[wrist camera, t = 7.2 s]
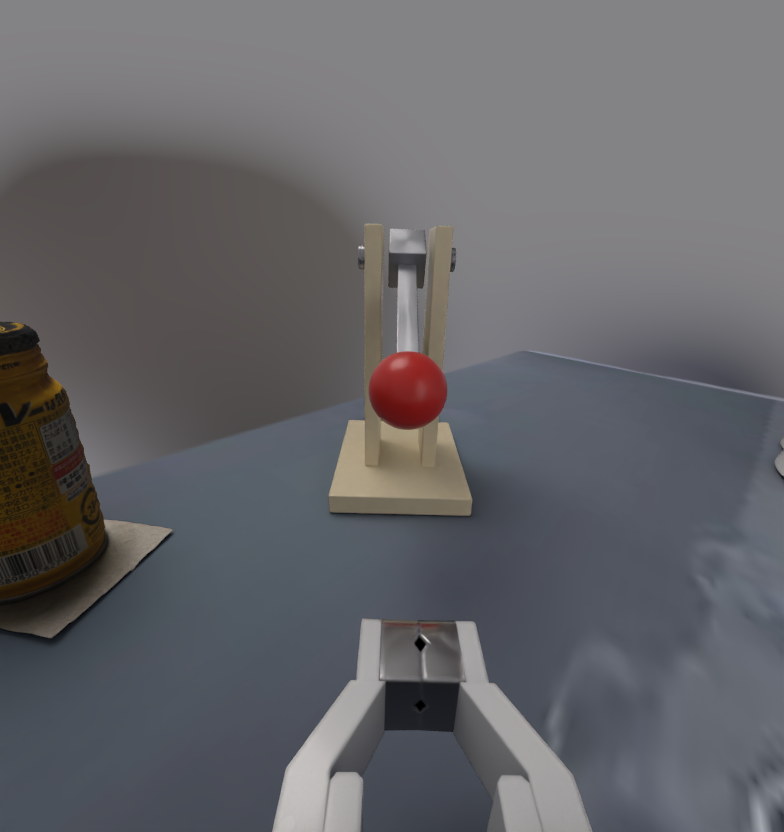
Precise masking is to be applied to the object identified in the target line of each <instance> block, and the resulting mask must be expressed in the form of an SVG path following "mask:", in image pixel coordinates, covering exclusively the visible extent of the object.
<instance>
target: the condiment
mask: <svg viewBox="0 0 784 832" xmlns="http://www.w3.org/2000/svg"><path fill="white" fill-rule="evenodd" d="M39 341H40V340H39V338H38V335H37V333H36V331H34V330H33V329H31V328H30V327H29V326H26V325H25V324H20V323H13V322H0V628H2V629H5V630H9V631H14V632H23V633H32V634H35V635H38V636H43V637H48V638H52V637H53V636H55V635H56V634H57V633H58V632H60V631H61V630H62V629H63V628H64V627H65V626H66V625H67V624H68V623H70V622H72V621H74V620H75V619H76V618H77V617H78V616H79V615H80V614H81V613H83V612H84V611H85V610H86V609H88V608H89V607H90V606H91V605H92V604H93V603H94V602H95V601H96V600H97V599H98V598H99V597H100V596H102V595H103V594H105V593H106V592H107V591H108V590H109V589H110V588H112V587H113V586H114V585H115V584H116V583H117V582H118V581H119V580H120V579H121V578H122V577H123V576H124V575H125V574H126V573H128V572H129V571H130V570H132V571H133V570H134V568H135V566H136V565H137V564H138V563H139V561H140V560H141V559H142V558H143V557H144V556H145V555H146V554H147V553H149V552H150V551H151V550H153V549H154V548H155V547H156V546H157V545H158V544H159V543H160V541H161V540H163V539H164V538H165V537H166V536H167V535H168V534H169V533H170V532H171V531H172V530H173V529H167V528H163V527H156V526H148V525H145V524H135V523H130V522H126V521H125V522H122V521H114V520H104V519H103V514H102V512H101V510H100V503H99V500H98V498H97V493H96V491H95V487H94V485H93V484H92V479H91V473H90V465H89V464H87V461H86V458H85V455H84V448H83V445H82V444H81V441H80V439H79V433H78V430H77V428H76V422H75V419H74V417H73V415H72V413H71V409H70V407H69V405H70V403H69V398H68V396H67V394H66V391H65V390H64V389H63V387H62V386H61V384H60V383H58V382H57V381H55V380H54V379H53V378H52V377H50V376H49V375H48V373H47V368H48V363H47V361H46V359H45V358H44V356H43V355H42V354H41V348H40V347H39V345H38V344H37V343H38V342H39Z"/></svg>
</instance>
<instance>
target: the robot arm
mask: <svg viewBox="0 0 784 832" xmlns="http://www.w3.org/2000/svg"><path fill="white" fill-rule="evenodd" d="M780 444H781V446H782V448H783V449H784V437H783V438H782V440H781V441H780ZM775 466H776V468H777V470H778V471H779V473H780V474H781V475H782V476H783V477H784V450H783V451H782V452H781V453H780V454H779V455H778V456H777V458H776V459H775ZM384 730H426V731H445V732H453V735H454V736H455V738H456V740H457V741H458V743H459V745H460V747H461V748H462V750H463V752H464V753H465V755H466V757H467V758H468V760H469V762H470V763H471V765H472V767H473V769H474V770H475V772H476V774H477V775H478V777H479V779H480V780H481V782H482V784H483V785H484V787H485V789H486V791H487V792H488V794H489V796H490V797H491V799H492V801H493V805H492V809H491V813H490V818H489V822H488V827H487V831H486V832H592V829H591V826H590V823H589V820H588V817H587V814H586V811H585V808H584V805H583V803H582V800H581V797H580V794H579V791H578V788H577V785H576V782H575V779H574V776H573V774H572V773H571V772H570V771H569V770H568V768H567V767H566V766H565V765H564V764H563V763H562V761H561V760H560V759H559V758H558V757H557V756H556V754H555V753H554V752H553V751H552V750H551V749H550V747H549V746H548V745H547V744H546V743H545V741H544V740H543V739H542V738H541V737H540V736H539V734H538V733H537V732H536V731H535V730H534V729H533V727H532V726H531V725H530V724H529V723H528V721H527V720H526V719H525V718H524V717H523V716H522V714H521V713H520V712H519V711H518V710H517V709H516V707H515V706H514V705H513V704H512V703H511V702H510V700H509V699H508V698H507V697H506V696H505V694H504V693H503V692H502V691H501V690H500V689H499V687H498V686H497V685H496V684H495V683H489V680H488V676H487V672H486V667H485V663H484V658H483V654H482V649H481V645H480V640H479V636H478V631H477V627H476V624H475V623H474V622H471V621H425V620H418V621H404V620H384V619H382V622H381V619H362V623H361V631H360V642H359V654H358V665H357V676H356V680H350V681H349V683H348V684H347V685H346V687H345V688H344V690H343V691H342V692H341V694H340V695H339V696H338V698H337V699H336V701H335V702H334V703H333V705H332V706H331V707H330V709H329V710H328V711H327V713H326V714H325V716H324V717H323V718H322V720H321V721H320V722H319V724H318V725H317V727H316V728H315V729H314V731H313V732H312V733H311V735H310V736H309V737H308V739H307V740H306V742H305V743H304V744H303V746H302V747H301V748H300V750H299V751H298V753H297V754H296V755H295V757H294V758H293V759H292V761H291V762H290V764H289V765H288V766H287V768H286V771H285V775H284V780H283V785H282V789H281V794H280V798H279V803H278V808H277V812H276V817H275V822H274V826H273V831H272V832H363V779H362V778H361V777H362V775H363V773H364V771H365V770H366V768H367V766H368V764H369V762H370V760H371V758H372V756H373V754H374V752H375V750H376V748H377V746H378V744H379V742H380V740H381V739H382V737H383V735H384Z"/></svg>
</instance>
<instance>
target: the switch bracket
mask: <svg viewBox="0 0 784 832" xmlns="http://www.w3.org/2000/svg"><path fill="white" fill-rule="evenodd" d="M452 238H453V227H452V226H436V227H434V228H432V229H431V230H430V231H429V248H428V267H427V284H426V302H425V320H424V337H423V354H424V355H426V356H428V357H429V358H431V359H432V360H433V361H434V362H435V363H436V364H437V365H438V366H439V367H440V368H441V370H442V369H443V356H444V342H445V329H446V316H447V302H448V290H449V277H450V272H453V271H454V269H455V262H456V249H455V248H452ZM383 262H384V228H383V226H382V225H381V224H365V246H364V245H360V246H359V248H358V266H359V269H365V421H358V420H349V422H348V426H347V430H346V433H345V437H344V441H343V444H342V448H341V452H340V456H339V459H338V463H337V467H336V470H335V474H334V478H333V481H332V485H331V489H330V492H329V512H336V513H376V514H416V515H456V516H470V515H471V508H472V496H471V493H470V490H469V487H468V484H467V481H466V477H465V474H464V471H463V468H462V465H461V461H460V458H459V455H458V452H457V449H456V445H455V442H454V439H453V436H452V433H451V430H450V426H449V423H438V421H439V415H438V416H437V417H436V418H435V419H434V420H433V421H432V422H431V423H429V424H428V425H426V426H424V427H421V428H418V429H413V430H402V429H397V428H394V427H392V426H390V425H388V424H386V423H385V422H383V421H381V419H380V418H379V417H378V416H377V414H376V413H375V411H374V410H373V408H372V405H371V403H370V399H369V382H370V378H371V376H372V374H373V372H374V370H375V368H376V367H377V366H378V364H379V363H380V362H381V361H382V328H383V269H384V268H383V267H384V265H383V264H384V263H383Z"/></svg>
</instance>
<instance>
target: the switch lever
mask: <svg viewBox="0 0 784 832" xmlns="http://www.w3.org/2000/svg"><path fill="white" fill-rule="evenodd" d="M425 263H426V240H425V230H414V229H390V239H389V284H388V286H389V287H390V288H397V337H396V338H397V339H396V344H397V345H396V353H395V354H392V355H390V356H388V357H386V358H385V359H384V360H383V361H381V362H380V363H379V364H378V366H377V367H376V368H375V370H374V372H373V374H372V376H371V378H370V382H369V399H370V403H371V405H372V408H373V410H374V411H375V413H376V414H377V416H378V417H379V418H380V419H381V420H382V421H383V422H385V423H386V424H388V425H390V426H392V427H394V428H397V429H402V430H413V429H418V428H421V427H424V426H426V425H428V424H429V423H431V422H432V421H433V420H434V419H435V418H436V417H437V416H438V415H439V414H440V412H441V411H442V409H443V407H444V405H445V402H446V398H447V383H446V379H445V376H444V374H443V372H442V370H441V368H440V367H439V366H438V365H437V364H436V363H435V362H434V361H433V360H432V359H431V358H429V357H428V356H426V355H424V354H421V353H419V330H418V300H417V288H423V285H424V275H425Z"/></svg>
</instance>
